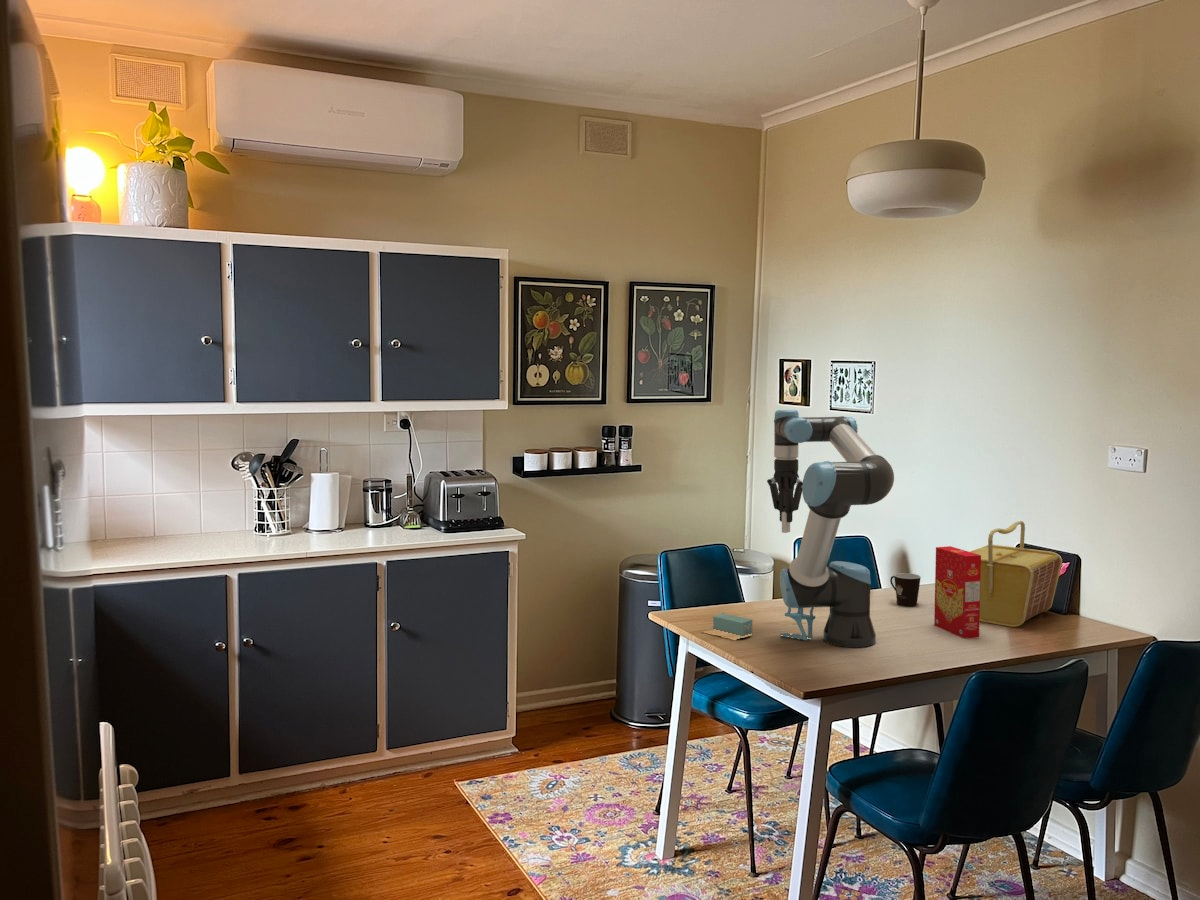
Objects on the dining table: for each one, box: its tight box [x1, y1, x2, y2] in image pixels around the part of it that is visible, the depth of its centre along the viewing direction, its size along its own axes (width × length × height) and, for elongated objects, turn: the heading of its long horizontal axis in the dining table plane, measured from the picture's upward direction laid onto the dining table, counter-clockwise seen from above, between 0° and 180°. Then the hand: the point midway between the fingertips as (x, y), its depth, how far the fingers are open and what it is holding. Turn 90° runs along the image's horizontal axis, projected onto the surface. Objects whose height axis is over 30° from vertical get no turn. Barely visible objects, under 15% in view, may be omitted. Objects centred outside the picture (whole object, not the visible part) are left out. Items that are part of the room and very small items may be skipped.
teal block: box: [712, 612, 753, 636], centre depth 280 cm, size 5×5×11 cm
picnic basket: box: [969, 520, 1063, 628], centre depth 298 cm, size 29×26×30 cm
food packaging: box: [933, 545, 981, 639], centre depth 281 cm, size 15×5×25 cm, turn 14°
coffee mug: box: [889, 572, 922, 608], centre depth 315 cm, size 12×9×10 cm
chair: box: [779, 607, 816, 641], centre depth 277 cm, size 8×8×12 cm
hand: (785, 532), depth 292 cm, fingers closed
